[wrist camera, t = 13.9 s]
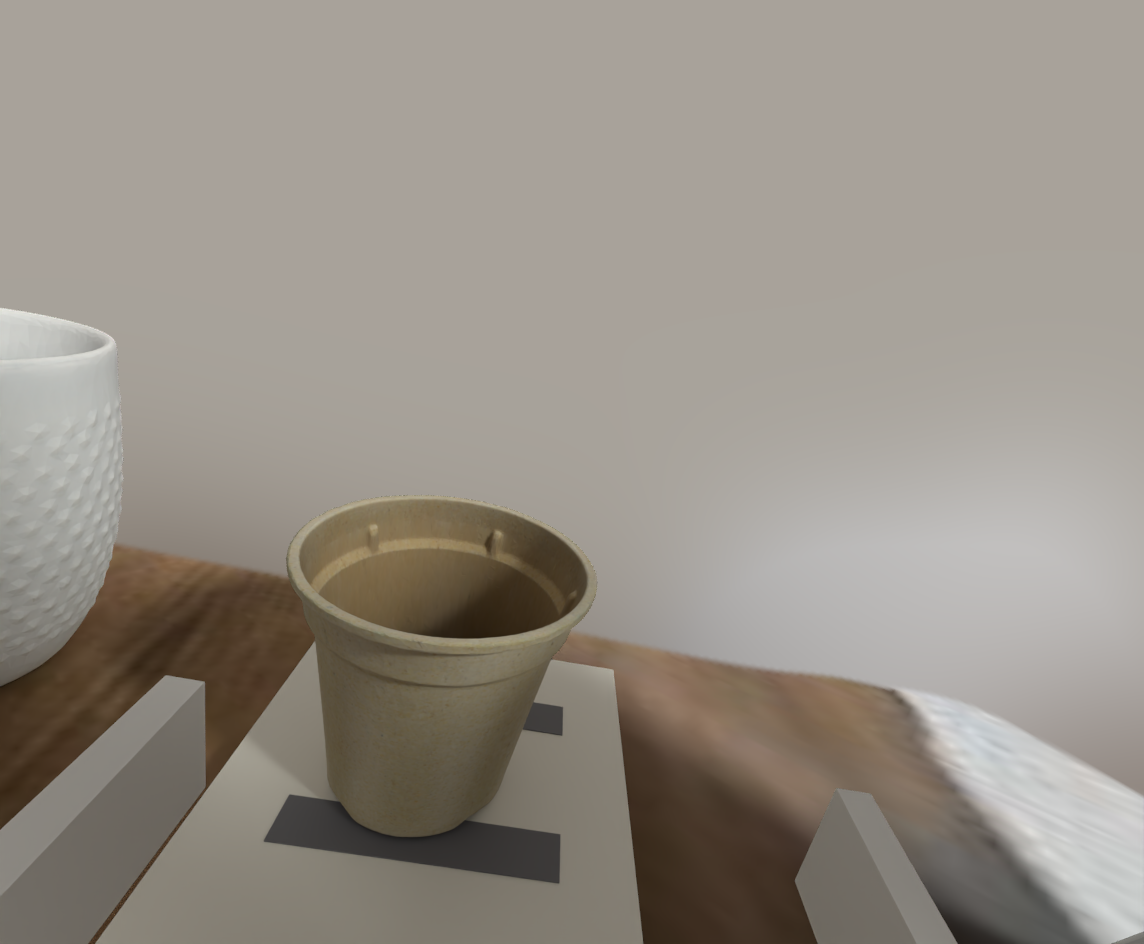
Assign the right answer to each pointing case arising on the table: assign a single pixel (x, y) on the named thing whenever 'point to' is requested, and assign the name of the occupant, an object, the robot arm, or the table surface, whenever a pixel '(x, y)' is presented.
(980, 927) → the table surface
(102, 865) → the robot arm
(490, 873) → the letter board
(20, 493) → the mug
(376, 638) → the flower pot
